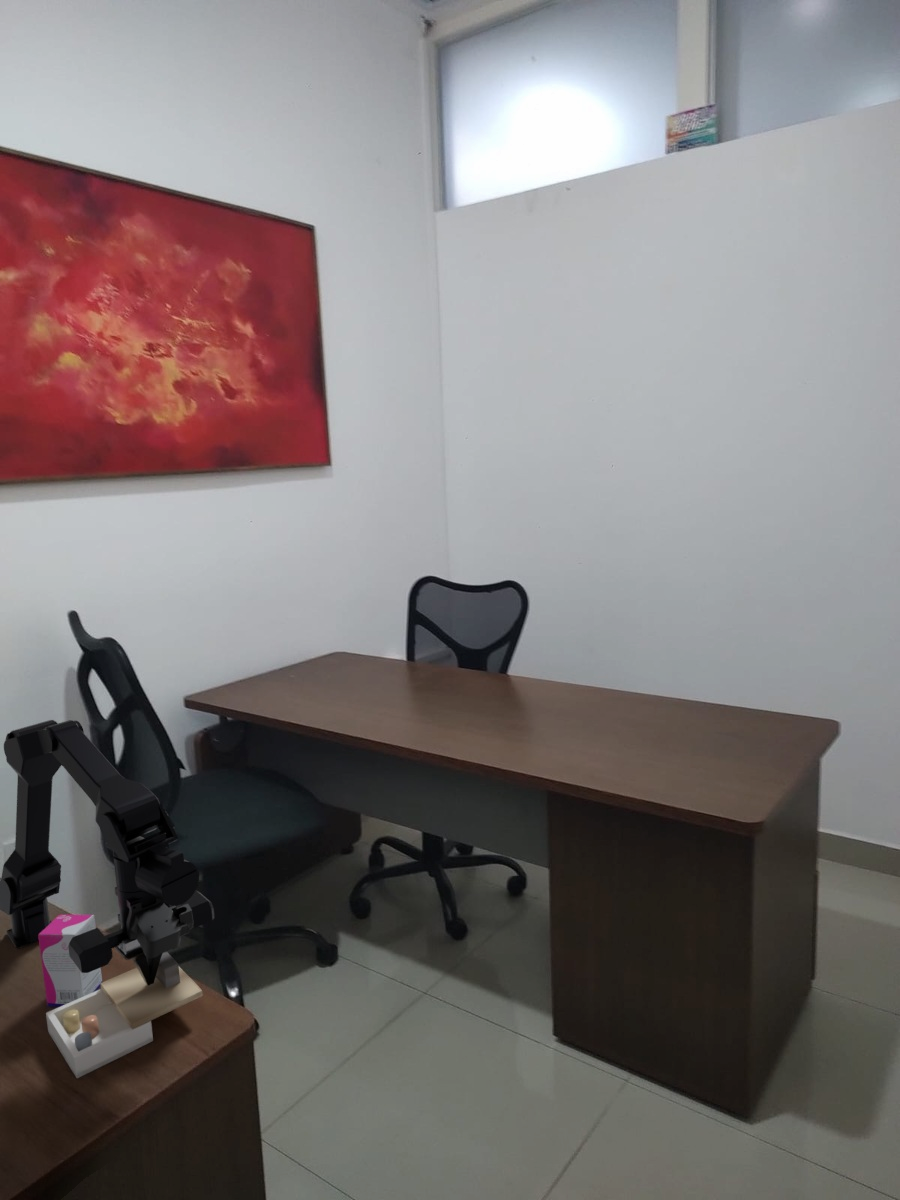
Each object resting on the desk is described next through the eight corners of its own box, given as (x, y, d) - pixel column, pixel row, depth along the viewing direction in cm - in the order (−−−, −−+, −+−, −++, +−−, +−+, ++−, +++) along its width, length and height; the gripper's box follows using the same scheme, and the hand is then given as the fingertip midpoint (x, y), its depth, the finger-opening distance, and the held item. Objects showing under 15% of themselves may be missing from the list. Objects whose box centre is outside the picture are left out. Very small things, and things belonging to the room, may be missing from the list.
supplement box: (104, 982, 127) (95, 913, 125) (83, 1008, 121) (74, 936, 119) (67, 981, 127) (58, 912, 125) (45, 1007, 121) (35, 935, 119)
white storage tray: (48, 1032, 116) (45, 1012, 116) (120, 999, 123) (118, 981, 122) (76, 1078, 107) (74, 1057, 107) (153, 1040, 114) (150, 1021, 113)
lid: (100, 988, 120) (97, 964, 120) (167, 959, 127) (165, 936, 126) (132, 1029, 111) (129, 1003, 111) (202, 995, 118) (200, 971, 117)
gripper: (89, 932, 104) (102, 1044, 107) (227, 878, 116) (236, 980, 119) (61, 898, 112) (74, 1003, 115) (192, 852, 124) (201, 947, 127)
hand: (149, 983), depth 119 cm, fingers closed
